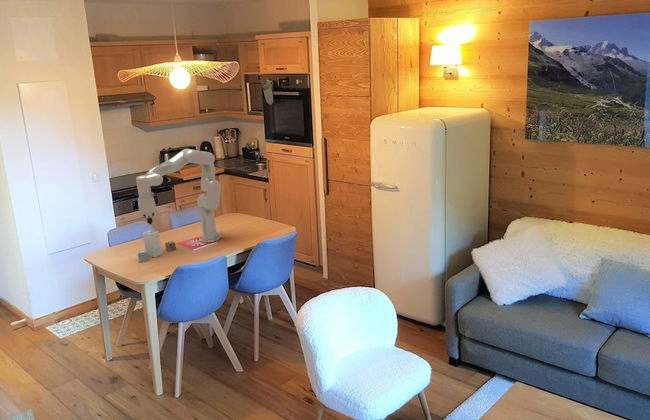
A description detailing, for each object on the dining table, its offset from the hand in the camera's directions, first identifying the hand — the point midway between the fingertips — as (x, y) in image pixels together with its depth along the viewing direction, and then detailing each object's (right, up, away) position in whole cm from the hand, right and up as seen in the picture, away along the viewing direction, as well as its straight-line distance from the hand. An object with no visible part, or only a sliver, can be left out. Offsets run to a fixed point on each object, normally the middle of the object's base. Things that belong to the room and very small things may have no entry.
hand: (150, 223), depth 349 cm
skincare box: (+1, -20, +5) cm, 21 cm away
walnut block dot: (+9, -17, +13) cm, 24 cm away
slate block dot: (-3, -23, -4) cm, 23 cm away
